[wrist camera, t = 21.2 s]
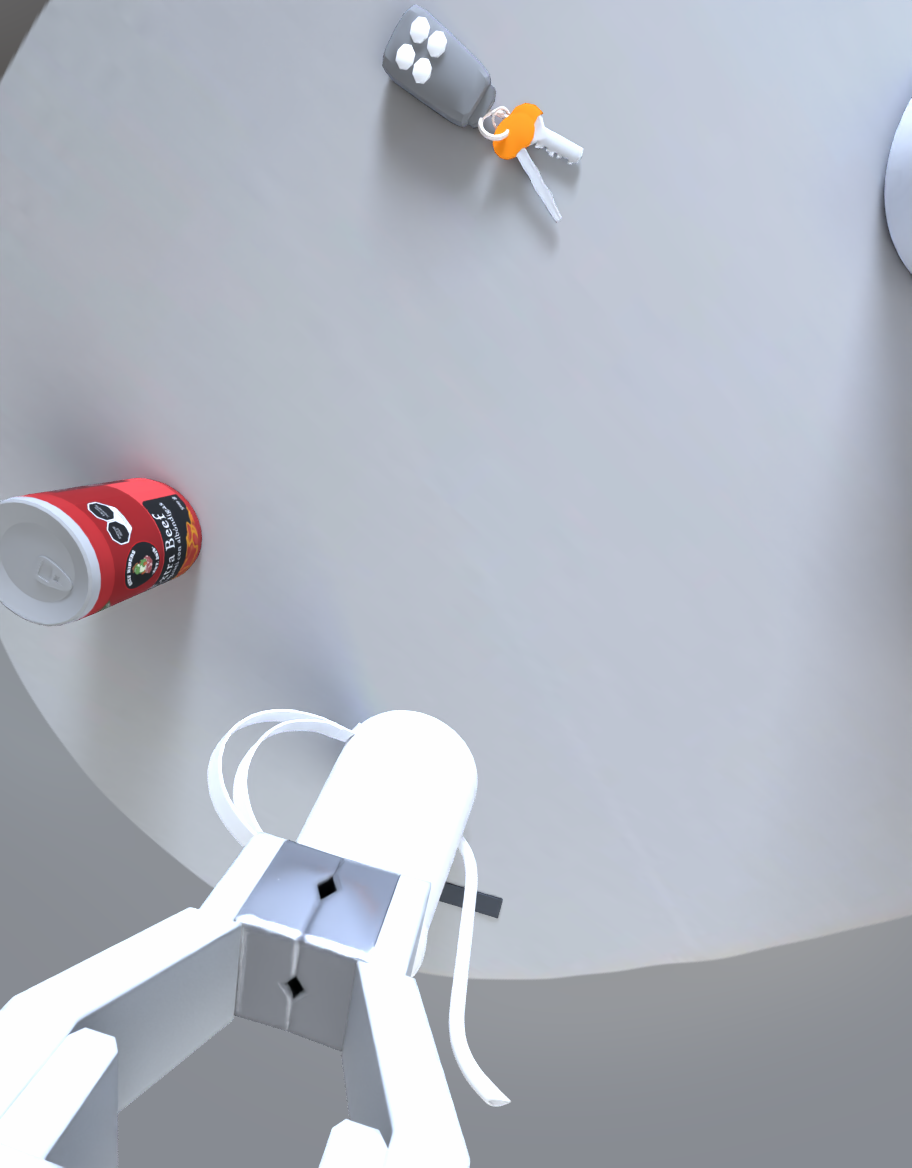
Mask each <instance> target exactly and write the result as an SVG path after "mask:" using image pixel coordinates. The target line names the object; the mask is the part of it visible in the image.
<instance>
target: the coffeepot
mask: <svg viewBox="0 0 912 1168" xmlns="http://www.w3.org/2000/svg"><path fill="white" fill-rule="evenodd" d="M270 721H279V722H283V723H281V724H279V725H276V726H274V727H273V728H272V729H270V730H269V731H267V732H266V733H265V734H264V735H263V736H262V737H261V738H260V739H259V740H258V741H257V742H256V743H255V744H254V745H253V746H252V747H251V748H250V749H249V751H248V752H247V754H246V755H245V756H244V758H243V759H242V761H241V763H240V765H239V767H238V770H237V773H236V776H235V779H234V785H233V803H234V805H233V803H232V801H231V800H230V798H229V796H228V793H227V790H226V788H225V785H224V781H223V776H222V754H223V750H224V746H225V743H226V742H227V740H228V738H229V736H230V735H231V734H233V733H234V732H236V731H238V730H239V729H241V728H243V727H246V726H249V725H252V724H255V723H261V722H270ZM289 731H311V732H317V733H321V734H323V735H325V736H328V737H330V738H332V739H333V738H335V739H337V740H340V741H342V742H346V743H345V745H344V747H343V749H342V751H341V753H340V755H339V757H338V759H337V761H336V763H335V765H334V767H333V769H332V771H331V773H330V775H329V777H328V779H327V781H326V783H325V785H324V787H323V789H322V791H321V793H320V795H319V797H318V799H317V801H316V803H315V805H314V807H313V809H312V811H311V813H310V815H309V817H308V819H307V821H306V823H305V825H304V827H303V829H302V831H301V833H300V834H299V836H298V838H297V840H296V843H299V844H303V845H306V846H309V847H312V848H315V849H318V850H321V851H324V852H327V853H330V854H333V855H336V856H339V857H342V858H348V859H351V860H355V861H358V862H362V863H365V864H369V865H372V866H376V867H379V868H383V869H387V870H390V871H394V872H397V873H401V875H402V874H404V875H407V876H411V877H414V878H418V879H421V880H425V881H428V882H431V890H430V894H429V899H428V903H427V908H426V912H425V917H424V921H423V926H422V930H421V935H420V939H419V943H418V948H417V952H416V956H415V960H414V965H413V969H412V973H411V977H413V976H414V975H415V974H416V972H417V971H418V969H419V968H420V966H421V963H422V961H423V958H424V954H425V950H426V945H427V932H428V930H429V927H430V924H431V921H432V918H433V915H434V913H435V910H436V907H437V904H438V901H439V899H440V896H441V893H442V890H443V887H444V885H445V882H446V879H447V876H448V873H449V871H450V868H451V865H452V862H453V859H454V857H455V854H456V851H457V849H458V850H459V852H460V854H461V856H462V858H463V861H464V865H465V874H466V881H465V891H464V900H463V907H462V915H461V923H460V931H459V939H458V946H457V954H456V962H455V970H454V977H453V985H452V994H451V1003H450V1011H449V1034H450V1041H451V1046H452V1050H453V1053H454V1056H455V1059H456V1061H457V1064H458V1066H459V1068H460V1070H461V1072H462V1073H463V1075H464V1077H465V1079H466V1080H467V1081H468V1083H469V1084H470V1086H471V1087H472V1088H473V1089H474V1090H475V1091H476V1092H477V1094H478V1095H479V1096H480V1097H481V1098H482V1099H483V1100H484V1101H485V1102H486V1103H487V1104H489V1105H491V1106H502V1105H505V1104H508V1103H509V1102H511V1101H510V1100H509V1099H508V1098H507V1097H506V1096H505V1095H504V1094H503V1093H502V1092H501V1091H500V1090H499V1089H498V1088H497V1087H496V1086H495V1085H494V1084H493V1083H492V1082H491V1081H490V1080H489V1078H488V1077H487V1076H486V1075H485V1074H484V1073H483V1072H482V1070H481V1069H480V1068H479V1066H478V1065H477V1063H476V1062H475V1060H474V1058H473V1056H472V1054H471V1052H470V1050H469V1047H468V1044H467V1040H466V1035H465V1026H464V1012H465V1001H466V991H467V981H468V972H469V962H470V953H471V943H472V933H473V924H474V914H475V905H476V895H477V882H478V875H477V866H476V861H475V857H474V855H473V852H472V850H471V848H470V846H469V844H468V843H467V841H466V840H465V838H464V837H463V836H462V834H463V831H464V828H465V826H466V823H467V820H468V817H469V814H470V812H471V809H472V806H473V803H474V800H475V797H476V793H477V785H478V776H477V769H476V765H475V762H474V759H473V756H472V754H471V752H470V750H469V748H468V747H467V745H466V744H465V742H464V741H463V740H462V739H461V737H460V736H459V735H458V734H457V733H456V732H455V731H454V730H452V729H451V728H450V727H449V726H447V725H446V724H444V723H443V722H441V721H439V720H438V719H436V718H433V717H431V716H429V715H426V714H423V713H419V712H414V711H404V710H399V711H389V712H385V713H381V714H378V715H376V716H373V717H371V718H369V719H368V720H366V721H364V722H363V723H362V724H360V723H359V724H358V725H357V726H356V727H355V728H353V729H352V730H349V729H347V728H345V727H343V726H341V725H339V724H337V723H335V722H333V721H330V720H328V719H326V718H323V717H321V716H318V715H315V714H311V713H307V712H302V711H297V710H288V709H273V710H267V711H262V712H259V713H256V714H253V715H250V716H248V717H246V718H245V719H243V720H241V721H240V722H238V723H237V724H236V725H235V726H234V727H233V728H232V729H231V730H230V731H229V732H228V733H227V734H226V735H225V736H224V737H223V738H222V739H221V740H220V741H219V742H218V744H217V746H216V748H215V749H214V751H213V753H212V755H211V759H210V762H209V766H208V787H209V793H210V797H211V800H212V803H213V805H214V808H215V810H216V812H217V814H218V816H219V817H220V819H221V821H222V822H223V824H224V825H225V827H226V828H227V829H228V831H229V832H230V833H231V834H232V835H233V837H234V838H235V839H236V840H237V841H238V842H239V843H240V844H241V845H242V846H243V847H245V846H246V845H247V843H248V842H249V841H250V839H251V838H252V837H253V836H255V835H256V834H257V833H259V832H260V831H261V832H262V830H261V829H260V827H259V825H258V823H257V821H256V819H255V817H254V814H253V812H252V809H251V805H250V802H249V797H248V792H247V772H248V767H249V764H250V761H251V758H252V756H253V754H254V752H255V750H256V748H257V747H258V746H259V744H260V743H261V742H262V741H264V740H265V739H266V738H268V737H270V736H273V735H275V734H278V733H282V732H289Z"/></svg>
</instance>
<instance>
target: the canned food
mask: <svg viewBox="0 0 912 1168" xmlns="http://www.w3.org/2000/svg"><path fill="white" fill-rule="evenodd" d="M201 542H202V534H201V527H200V524H199V520H198V518H197V516H196V514H195V511H194V510H193V508H192V507H191V505H190V504H189V502H188V501H187V500H186V499H185V498H184V497H183V496H182V495H181V494H180V493H179V492H177V491H176V490H175V489H173V488H172V487H170V486H168V485H166V484H164V483H161V482H157V481H154V480H150V479H143V478H134V479H126V480H120V481H113V482H107V483H100V484H94V485H87V486H80V487H74V488H67V489H61V490H54V491H48V492H41V493H35V494H28V495H24V496H18V497H12V498H9V499H6V500H2V501H0V602H1V603H2V604H3V605H4V606H5V607H6V608H8V609H9V610H10V611H12V612H13V613H14V614H16V615H17V616H19V617H21V618H23V619H25V620H27V621H30V622H32V623H35V624H38V625H45V626H60V625H64V624H67V623H71V622H74V621H77V620H80V619H82V618H84V617H87V616H89V615H92V614H94V613H97V612H99V611H101V610H104V609H106V608H108V607H110V606H113V605H115V604H117V603H119V602H122V601H124V600H126V599H129V598H131V597H133V596H135V595H138V594H140V593H142V592H144V591H147V590H149V589H151V588H154V587H156V586H158V585H160V584H163V583H165V582H167V581H169V580H172V579H174V578H176V577H178V576H180V575H182V574H183V573H185V572H186V571H187V570H188V569H189V568H190V567H191V565H192V564H193V563H194V562H195V560H196V558H197V557H198V555H199V552H200V549H201Z"/></svg>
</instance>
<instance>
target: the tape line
mask: <svg viewBox="0 0 912 1168" xmlns="http://www.w3.org/2000/svg"><path fill="white" fill-rule="evenodd" d="M464 891H465V888H462V887H459V886H455V885H452V884H449V883H445V885H444V887H443V890H442V893H441V896H440V899H439V901H442V902H445V903H448V904H452V905H455V906H458V907H463V900H464ZM502 901H503V899H500V898H496V897H493V896H489V895H486V894H483V893H479V892H477V895H476V905H475V912H479V913H482V914H485V915H489V916H492V917H495V918H498V915H499V912H500V908H501V904H502Z"/></svg>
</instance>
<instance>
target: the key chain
mask: <svg viewBox="0 0 912 1168" xmlns="http://www.w3.org/2000/svg"><path fill="white" fill-rule="evenodd" d="M382 66H383V68H384V70H385V72H386V73H387V74H388V75H389V76H390V78H391V79H392V80H393V81H394V82H395V83H396V84H398V85H399V86H400V87H402V88H403V89H405V90H406V91H407V92H409V93H410V94H412V95H413V96H414V97H416V98H417V99H419V100H420V101H421V102H423V103H424V104H426V105H427V106H429V107H430V108H431V109H433V110H434V111H436V112H437V113H439V114H440V115H441V116H443V117H444V118H446V119H447V120H449V121H450V122H452V123H454V124H456V125H458V126H461V127H465V126H467V125H470V126H472V127H473V128H475V127H477V126H478V128H479V130H480V133H481V134H482V135H483V136H484V137H485V138H486V139H489V140H492V141H493V147H494V151H495V153H496V154H497V155H498V156H499V157H500V158H502V159H506V160H508V159H512V158H515V157H516V156H517V158H518V160H519V162H520V164H521V165H522V167H523V169H524V171H525V173H527V174H528V176H529V178H530V179H531V183H532V185H533V187H534V189H535V190H536V192H537V194H538V196H540V197H541V199H542V201H543V203H544V204H545V206H546V208H547V209H548V211H549V212H550V214H551V215H552V217H553V218H554V220H555V222H556V223H557V222H558V221H559V220H561V219H562V217H561V215H560V213H559V211H558V208H557V206H556V204H555V202H554V200H553V198H554V197H553V196H552V194H551V192H550V190H549V188H548V189H547V187H546V185H545V183H544V181H543V180H542V178H541V176H540V172H539V170H538V168H537V166H536V165H534V163H533V161H532V160H531V158H530V156H529V154H528V152H527V150H526V147H528V146H530V145H533V144H535V143H536V145H535V148H537V149H539V148H541V149H543V148H544V147H546V148H547V150H546V152H548V153H549V156H551V157H553V155H554V153H557V154H558V155H557V158H559V159H561V157H564V158H566V159H568V162H567V163H568V164H570V165H571V164H572V162H573V163H575V164H576V163H577V162H578V161H579V160H580V159H581V158H582V154H583V148H582V147H580V146H578V145H576V144H574V143H573V142H571V141H569V140H567V139H565V138H564V137H562V136H560V135H558V134H556V133H555V132H553V131H551V130H549V129H547V128H546V127H544V123H543V119H542V114H543V112H542V111H541V110H540V109H539V108H538V107H537V106H536V105H533V104H528V103H524V104H522V105H520V106H518V107H516V108H515V109H514V110H513V112H512V113H511V114H510V113H509V111H508V110H507V108H505V107H498V108H497V109H495V110H490V108H491V107H492V105H493V103H494V102H495V94H496V91H495V88H494V87H493V86H492V85H491V78H490V74H489V73H488V71H487V70H486V69H485V67H484V66H483V64H482V63H481V62H480V61H479V60H478V59H477V58H476V57H475V56H474V55H473V54H472V53H471V52H470V51H469V50H468V49H467V48H466V47H465V46H464V45H462V44H461V43H460V42H459V41H458V40H457V39H456V38H455V37H454V36H453V35H452V34H451V33H450V32H449V31H448V30H447V29H446V28H445V27H444V26H443V25H442V24H441V23H440V22H439V21H437V20H436V19H435V18H434V17H433V16H432V15H431V14H430V13H429V12H428V11H427V10H426V9H424V8H422V7H420V6H418V5H415V4H414V5H413V6H412V7H410V8H409V9H408V10H407V11H406V12H405V13H404V14H403V16H402V18H401V19H400V21H399V23H398V25H397V26H396V28H395V30H394V32H393V34H392V36H391V38H390V40H389V42H388V44H387V46H386V49H385V52H384V55H383V64H382ZM499 110H503V111H505V112H506V114H507V115H506V114H505V113H504V112H502V111H499ZM489 116H492V124H493V127H494V128H495V129H496V131H495V133H494V135H493V134H490V133H488V132H487V131H486V130H484V128H483V121H484V119H485V118H487V117H489ZM495 116H498V117H501V118H502V119H503V121H502V122H501V123H500V124H499V125H498V127H497V126H496V124H495V121H494V119H495Z"/></svg>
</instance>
